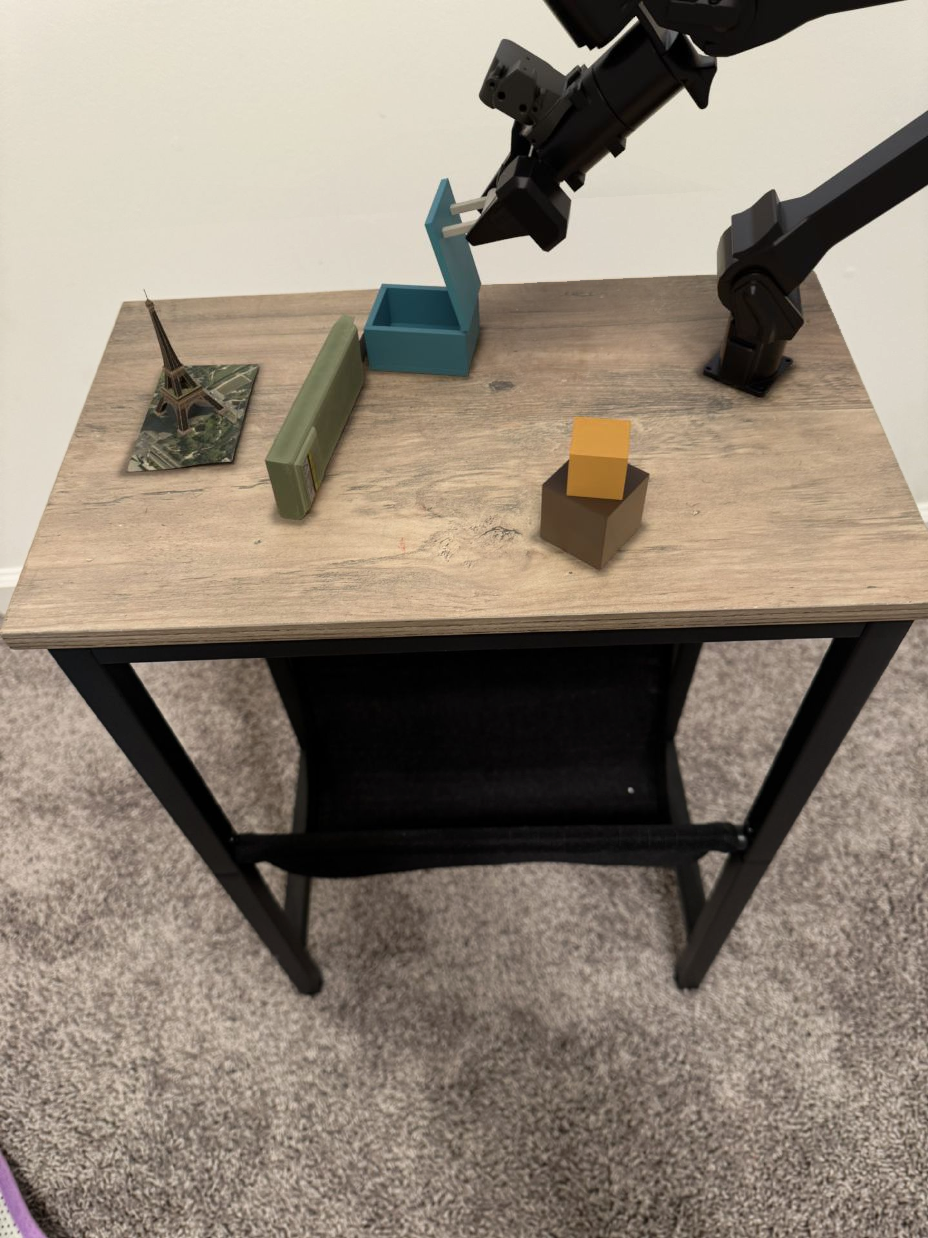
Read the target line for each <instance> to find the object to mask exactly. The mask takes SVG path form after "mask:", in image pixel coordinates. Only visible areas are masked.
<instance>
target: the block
mask: <svg viewBox="0 0 928 1238" xmlns="http://www.w3.org/2000/svg"><path fill="white" fill-rule="evenodd" d="M631 427H632V420H629V419H618V418H616V419H615V418H602V417H586V416H574V418H573V425H572V431H571V432H572V433H571V439H570V448H569V457H568V460H569V468H568V482H567V496H579V497H591V498H603V499H615V500H622V498H623V491H624V484H625V478H626V471H627V464H628V463H629V455H630V443H631V442H630V441H631V440H630V439H631V429H632V428H631Z"/></svg>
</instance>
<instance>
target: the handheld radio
mask: <svg viewBox="0 0 928 1238" xmlns="http://www.w3.org/2000/svg"><path fill="white" fill-rule="evenodd" d="M354 322H355V316H353V315H348V314H342V315H341V316H340V317H339V319H338V320H337V321H336V322H335V323H333V325H332V326H331V329H330V330H329V332H328V334H327V336H326V338H325V340H324V343H323V344H322V346H321V348H320V350H319V351H318V354H317V356H316V358H315V360H314V362H313V364H312V366H311V368H310V370H309V372H308V374H307V375H306V377H305V379H304V381H303V383H302V385H301V387H300V388H299V389H300V390H299V391H298V393H297V395H296V397H295V400H293V403H292V405H291V407H290V409H289V411H288V412H287V415H286V417H285V419H284V420H283V423H282V425H281V427H280V429H279V431H278V432H277V434H276V435H275V438H274V440H273V443H272V444H271V446H270V448H269V450H268V452H267V454H266V456H265V458H264V463H265V467H266V471H267V474H268V478H269V482H270V485H271V489H272V492H273V496H274V497H273V498H274V500H275V504H276V507H277V512H278V514H279V516H280V517H281V518H282V519H287V520H288V519H289V520H298V521H300V520H302V519H303V518H304V517H305V516H306V514H307V512H308V511H309V510H310V508H311V506H312V504H313V502H314V499H315V497H316V496H317V493H318V491H319V489H320V486H321V483H322V481H323V479H324V477H325V472H326V469H327V468H328V467H327V466H328V464H329V462H330V460H331V458H332V455H333V453H334V451H335V449H336V447H337V444H338V442H339V439H340V437H341V435H342V432H343V431H344V428H345V426H346V424H347V421H348V419H349V417H350V415H351V412H352V410H353V407H354V406H355V404H356V401H357V399H358V396H359V395H360V392H361V390H362V387H363V385H364V382H365V375H364V369H363V368H364V367H363V364H364V363H365V360H366V358H367V357H368V354H367V348H366V342H365V336H364V331H363V332H362V334H361V336H360V337H359V329H358V327H357V325H356V324H355V323H354Z"/></svg>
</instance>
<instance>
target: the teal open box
mask: <svg viewBox="0 0 928 1238" xmlns="http://www.w3.org/2000/svg"><path fill="white" fill-rule="evenodd" d="M479 296H480V294H479V295H478V298H477V302H476V306H475V309H474V313H473V316H472V320H471V324H470V327H469V330H468V331H463V332H462V330H461V328H460V325H459V322H458V319H457V316H456V313H455V311H454V308H453V305H452V302H451V299H450V296H449V293H448V291H447V288H446V286H438V285H419V284H399V283H398V284H397V283H381V285H380V287H379V289H378V292H377V294H376V297H375V300H374V302H373V305H372V306H371V310H370V312H369V314H368V317H367V319H366V322H365V324H364V327H363V332H364V336H365V342H366V348H367V360H368V366H369V371H377V372H378V371H381V372H395V373H396V372H397V373H409V374H410V373H411V374H425V375H442V376H457V377H468V376H469V372H470V369H471V365H472V362H473V357H474V353H475V349H476V345H477V342H478V337H479V334H480V330H481V326H480V325H481V324H480V323H481V322H480V297H479Z"/></svg>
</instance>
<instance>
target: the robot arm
mask: <svg viewBox="0 0 928 1238" xmlns="http://www.w3.org/2000/svg"><path fill="white" fill-rule="evenodd" d="M905 1H907V0H542V2H544V4H545V6H546V7H547V8H548V10H549V11H550V12H551V14H552V15H553V16H554V17H555V19H556V21H557V22H558V23H559V25H560V26H561V28H563V30H564V32H565V33H566V34H567V36H568V37H569V38H570V40H571V41H572V42H573V43H574V45H575V46H576V47H577V49H581V48H584V47H586V48H587V49H588V50H589V52H591V51H593V50H594V49H597V50H602V49H603V48H604V47H606V46H607V45H608V44H610V43H611V42H612V41H614V39H615V38H617V37H618V36H619V34H621V32H623V31H624V29H625V28H626V27H627V26H628V25H629V24H630V23H631V22H632V21H633V20H634V19H635V18H637V21H635V23H633V25H631V26H630V27H629V28H628V29H627V30H626V31H625V32H624V33H623V34H622V35H621V36H620V37H618V39H616V41H615V42H614V43H613V44H611V45H610V47H609V48H608V49H607V50H606V51H605V52H603V53H602V54H601V55H600V56H599V57H598V58H597V59H596V60H595V61H594V62H593V63H592V64H591V65H590V66H589V67H588V66H587V65H586V64H585V63H583V64H582V65H581V66H580V65H579V64H577V65H576V66H575V65H574V67H573V68H572V69H571V70H570V71H569V72H567V74H566V75H564V74H563V73H562V72H560V71H559V70H557V69H556V68H554V67H553V65H551V64H550V63H549V62H547V61H546V60H545V59H543V58H541V57H540V56H538V55H536V54H535V53H533V52H532V51H530V50H528V49H526V48H524V46H521V45H520V44H518V43H516V42H515V41H513V40H511V39H508V38H502V39H501V40H500V42H499V45H498V47H497V49H496V51H495V54H494V56H493V58H492V60H491V63H490V65H489V67H488V70H487V72H486V74H485V77H484V79H483V81H482V85H481V87H480V90H479V93H478V98H479V100H480V101H481V103H482V104H484V106H486V107H488V108H489V109H492V110H497V111H499V112H501V113H503V114H504V115H506V116H508V117H509V118H510V119H513V123H512V126H511V131H510V151H509V152H508V154H507V156H506V157H505V159H504V160H503V162H502V163H501V164H500V167H499V168H498V169H497V170H496V172H495V174H494V176H493V177H492V179H491V180H490V182H489V183H488V185H487V186H486V188H485V189H484V191H482V194H481V195H480V196H479V198H481V197H485V196H487V194H488V192H489V191H490V190H491V189H493V188H496V191H495V193H496V196H495V198H494V199H493V200H492V201H491V203H490V204H489V205H488V207H487V208H486V209H485V210H484V212H483V213H482V211H483V208H481V209H477V210H476V212H478V214H479V217H478V218H477V219H476V220H477V221H476V222H475V223H474V225H473V226H472V227H471V229H470V230H469V231H468V233H466V237H465V238H466V240H467V241H468V243H469V245H470V246H472V247H477V246H478V247H479V246H483V245H487V244H492V243H497V242H501V241H505V240H511V239H517V238H523V237H530V238H531V239H532V240H533V242H534V243H535V244H536V245H537V246H538V247H539V249H541V251H542V252H546V253H550V252H551V251H552V250H553V249H554V248H556V247H557V246H558V245H559V244H560V243H562V242H563V241H564V240H565V239H567V235H568V229H569V225H570V224H569V223H570V219H571V218H570V217H571V210H572V199H571V198H570V196H569V195H568V194H567V192H566V191H565V190H564V189H563V188H562V187H561V183H563V182H565V183H566V184H567V186H568V187H569V188H570V189H571V191H572V192H573V193H576V192H577V191H578V190H580V189H581V188H582V187H583V186H584V185H585V182H586V175H587V173H588V172H589V171H591V169H593V168H594V167H595V166H597V165H598V164H599V163H600V162H601V161H602V160H603V159H604V158H606V157H607V156H608V155H609V154H611V155H612V156H613V158H614V159H616V158H618V156H620V155H621V154H622V153H623V152H624V151H626V148H627V139H628V138H629V137H630V136H631V135H633V133H634V132H635V131H637V130H638V129H639V128H640V127H642V126H643V125H644V124H645V123H646V122H648V120H650V119H651V118H652V117H653V116H654V115H655V114H656V113H657V112H659V111H660V110H661V109H663V107H665V106H666V105H667V104H668V103H669V102H670V101H671V100H672V99H674V98H675V97H676V96H678V94H679V93H681V92H682V91H683V90H684V89H685V90H686V92H687V93H688V95H689V97H691V99H692V101H693V102H694V104H695V105H696V106H697V108H698V109H699V110H701V111H702V110H706V109H707V108H708V106H709V102H710V92H711V88H712V83H713V80H714V79H715V77H716V74H717V73H718V58H730V57H733V56H736V55H739V54H741V53H744V52H747V51H750V50H753V49H755V48H758V47H761V46H764V45H767V44H769V43H772V42H775V41H777V40H779V39H781V38H783V37H785V36H787V35H788V34H790V33H791V32H793V31H795V30H797V29H798V28H801V27H802V26H803V25H805V24H807V23H809V22H812V21H815V20H817V19H820V18H823V17H825V16H829V15H834V14H839V13H845V12H850V11H856V10H861V9H867V8H872V7H878V6H883V5H888V4H894V3H901V2H905ZM688 36H689V37H688ZM695 46H696V47H697V48H698V49H699V50H700V51H701V52H703V54H704V55H703V54H700V53H699V52H698V51H697V49H696V48H695ZM926 187H928V109H927V110H926V111H924V112H923V113H922V114H920V115H919V116H917V117H916V118H914V119H913V120H911V121H910V122H908V123H907V124H906V125H904V126H903V127H901V128H900V129H899V130H897V131H895V132H894V133H893V134H891V135H890V136H888V137H887V138H886V139H885V140H883V141H881V142H880V143H879V144H876V146H874V147H873V148H871V149H870V150H868V151H867V152H866V153H864V154H863V155H861V156H860V157H858V158H857V159H856V160H854V161H853V162H851V163H850V164H849V165H847V166H846V167H844V168H843V169H841V170H840V171H838V172H837V173H836V174H835V175H833V176H831V177H830V178H829V179H827V180H826V181H824V182H823V183H821V184H820V185H819V186H817V187H816V188H815V189H813V190H811V191H810V192H808V193H806V194H804V195H802V196H798V197H794V198H789V199H786V200H780V198H779V196H778V193H777V191H776V189H774V188H772V189H770V190H768V191H766V192H765V193H763V195H762V196H761V197H760V198H759V199H757V201H756V202H755V203H754V204H752V205H751V206H750V207H748V208H746V209H745V210H743V211H741V212H738V213H735V214H732V215H731V216H730V222H731V223H730V224H731V225H729V227H727V228H726V229H725V230H724V231H723V233H722V234H721V235H720V237H719V241H718V245H717V249H716V290H717V298H718V299H719V301H720V303H721V305H722V306H723V307H724V308H725V309H727V310H728V311H729V314H728V317H727V322H726V327H725V331H724V335H723V339H722V344H721V346H720V347H721V348H720V351H718V352H717V353H716V354H715V355H714V356H713V358H712V359H710V360H709V361H708V362H707V364H705V365H704V367H703V368H702V373H703V374H704V375H705V376H708V377H710V378H712V379H715V380H717V381H720V382H722V383H724V384H727V385H730V386H732V387H735V388H737V389H739V390H742V391H744V392H746V393H750V394H752V395H754V396H757V397H764V396H766V394H767V393H768V392H769V391H770V390H771V389H772V388H773V387H774V386H775V385H776V384H777V383H778V382H779V380H780V379H781V378H782V377H784V375H785V374H786V373H787V372H788V371H789V370H790V369H791V368H792V366H793V364H794V359H792V358H790V357H789V356H786V355H784V353H785V350H786V348H787V344H788V342H790V341H792V340H793V339H794V338H795V336H796V335H797V333H799V331H800V330H801V328H802V327H803V326H804V325H805V318H804V317H805V316H804V308H803V301H802V300H803V299H802V291H801V285H802V284H804V282H805V281H806V280H807V278H808V277H809V276H810V275H811V273H812V272H813V271H814V270H815V268H816V267H817V266H818V264H820V261H821V260H823V258H824V257H825V256H826V254H827V253H828V252H829V251H830V250H831V249H833V248H834V247H835V246H836V245H838V244H839V243H841V242H843V241H844V240H846V239H847V238H849V237H850V236H851V235H854V234H855V233H857V232H858V231H859V230H861V229H862V228H864V227H866V226H867V225H868V224H870V223H872V222H873V221H875V220H877V219H879V217H881V216H883V215H884V214H886V213H888V212H889V211H891V210H892V209H893V208H895V207H897V206H898V205H900V204H902V203H903V202H905V201H906V200H908V199H909V198H911V197H912V196H914V195H915V194H917V193H918V192H920V191H921V190H924V188H926Z"/></svg>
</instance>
